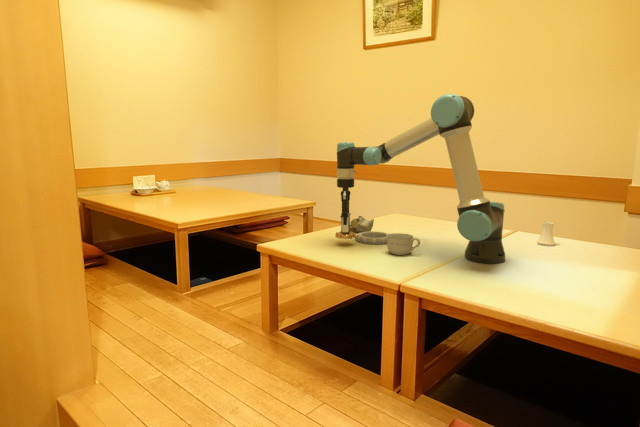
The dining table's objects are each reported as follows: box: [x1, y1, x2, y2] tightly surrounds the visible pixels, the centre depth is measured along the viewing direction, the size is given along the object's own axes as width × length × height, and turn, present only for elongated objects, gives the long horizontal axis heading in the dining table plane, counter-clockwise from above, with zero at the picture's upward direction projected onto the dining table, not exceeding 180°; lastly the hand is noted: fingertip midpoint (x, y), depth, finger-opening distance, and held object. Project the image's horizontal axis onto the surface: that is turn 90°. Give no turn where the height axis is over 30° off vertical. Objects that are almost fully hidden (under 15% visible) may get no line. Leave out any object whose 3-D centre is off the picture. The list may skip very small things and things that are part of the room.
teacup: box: [386, 232, 421, 256], centre depth 180 cm, size 14×11×8 cm
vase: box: [536, 221, 556, 247], centre depth 197 cm, size 8×8×10 cm
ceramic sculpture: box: [350, 215, 375, 233], centre depth 221 cm, size 11×9×15 cm
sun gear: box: [334, 212, 357, 240], centre depth 194 cm, size 9×9×10 cm
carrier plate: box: [354, 230, 389, 246], centre depth 205 cm, size 18×18×2 cm
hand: (345, 230), depth 195 cm, fingers closed on sun gear, 4 cm apart
